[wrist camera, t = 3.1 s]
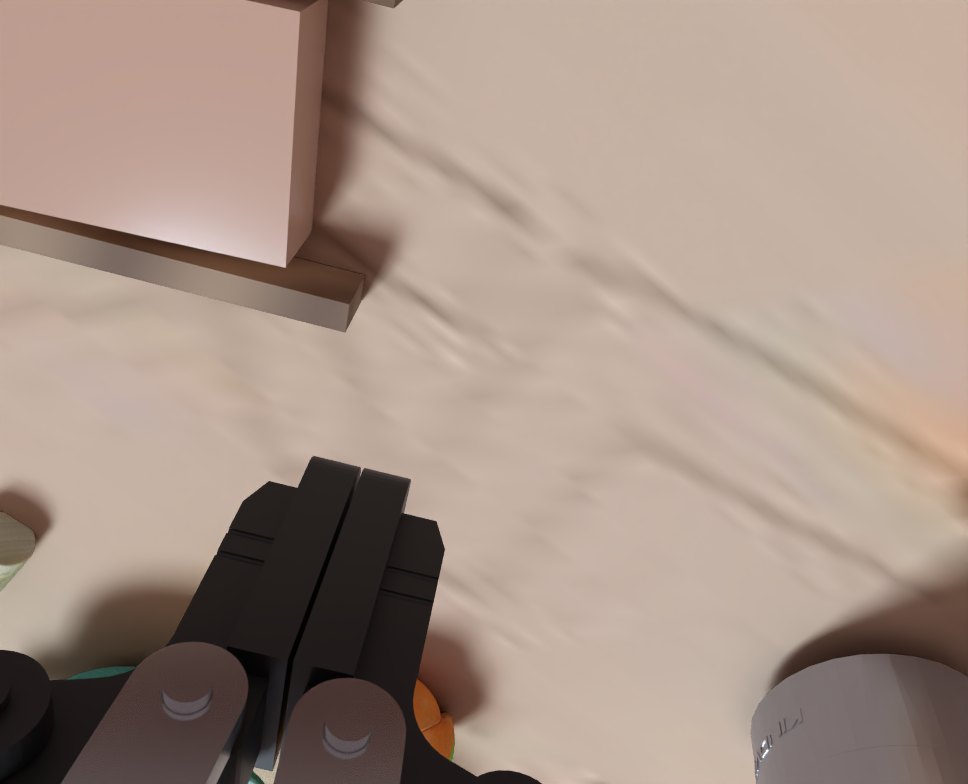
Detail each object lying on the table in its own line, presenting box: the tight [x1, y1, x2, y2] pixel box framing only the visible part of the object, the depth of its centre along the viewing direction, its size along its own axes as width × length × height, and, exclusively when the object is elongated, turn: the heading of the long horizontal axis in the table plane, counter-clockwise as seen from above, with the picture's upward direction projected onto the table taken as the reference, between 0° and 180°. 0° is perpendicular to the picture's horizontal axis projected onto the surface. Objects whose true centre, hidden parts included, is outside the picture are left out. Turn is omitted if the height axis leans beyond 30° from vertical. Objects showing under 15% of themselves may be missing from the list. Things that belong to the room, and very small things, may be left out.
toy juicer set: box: [0, 512, 455, 784], centre depth 38 cm, size 29×18×8 cm, turn 68°
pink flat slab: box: [0, 0, 329, 268], centre depth 25 cm, size 12×7×3 cm, turn 80°
